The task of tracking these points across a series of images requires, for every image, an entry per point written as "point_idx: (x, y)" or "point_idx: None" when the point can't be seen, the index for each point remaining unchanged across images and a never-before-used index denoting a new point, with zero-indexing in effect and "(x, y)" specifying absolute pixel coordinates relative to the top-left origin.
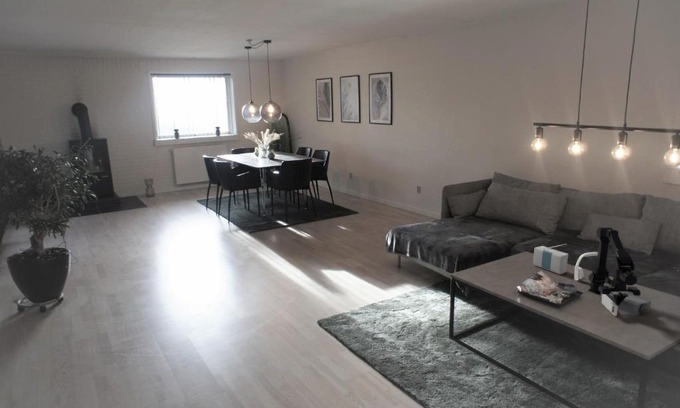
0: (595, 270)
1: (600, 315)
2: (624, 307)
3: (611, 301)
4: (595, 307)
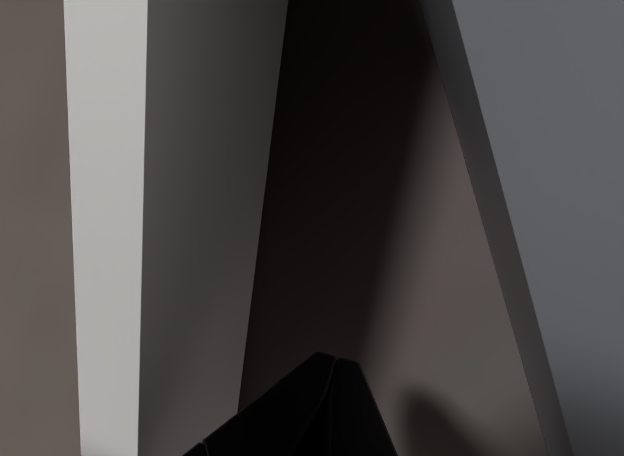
0: None
1: (25, 359)
2: (531, 378)
3: (97, 433)
4: (43, 66)
